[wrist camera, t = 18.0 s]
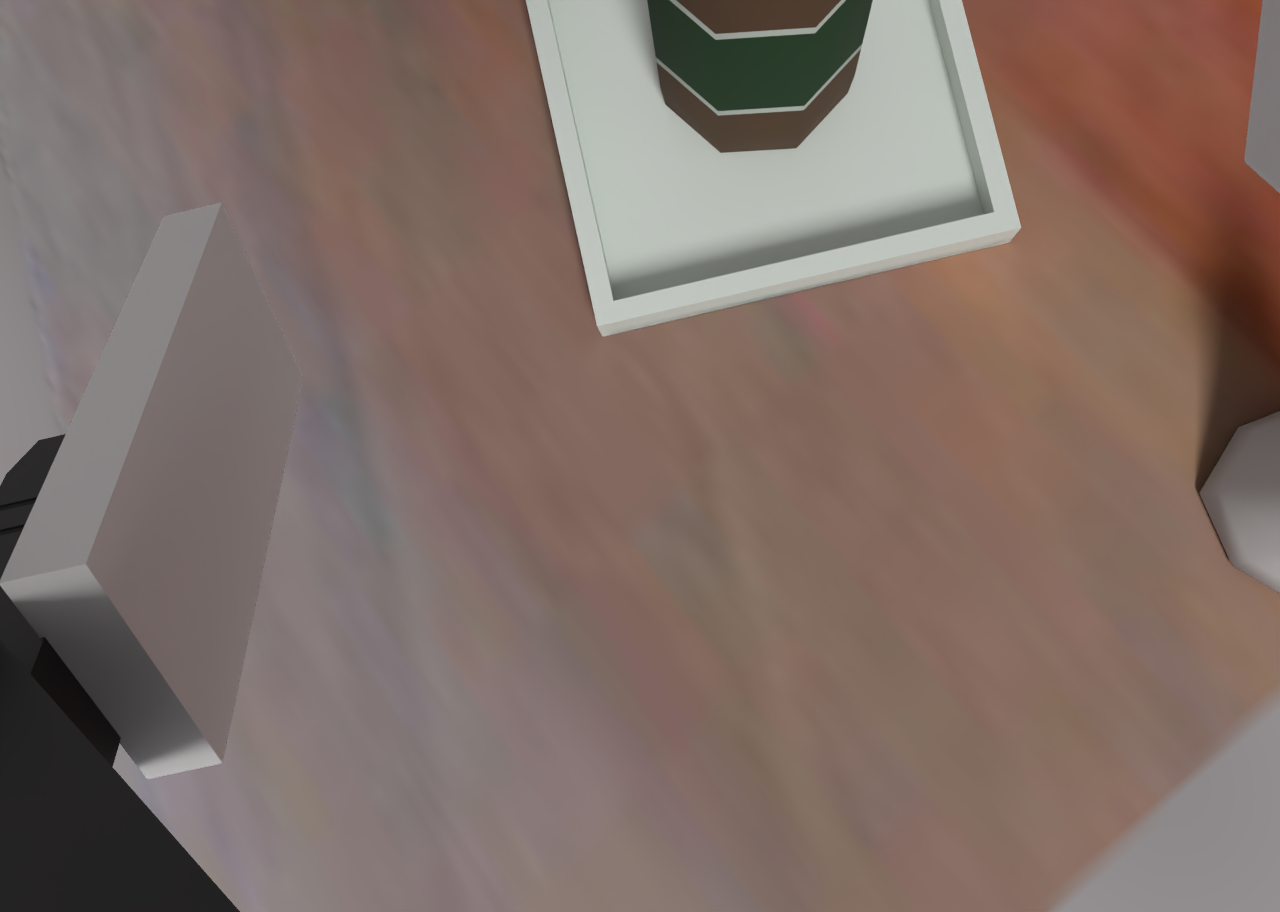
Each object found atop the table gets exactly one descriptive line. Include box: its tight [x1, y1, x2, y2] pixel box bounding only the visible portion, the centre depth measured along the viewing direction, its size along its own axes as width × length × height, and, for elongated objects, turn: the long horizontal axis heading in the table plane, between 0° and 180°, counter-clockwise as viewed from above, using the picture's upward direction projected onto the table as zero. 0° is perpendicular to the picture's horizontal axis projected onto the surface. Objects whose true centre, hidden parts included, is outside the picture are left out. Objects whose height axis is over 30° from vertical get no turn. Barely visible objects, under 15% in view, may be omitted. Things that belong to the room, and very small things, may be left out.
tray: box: [526, 0, 1021, 337], centre depth 47 cm, size 16×18×2 cm
